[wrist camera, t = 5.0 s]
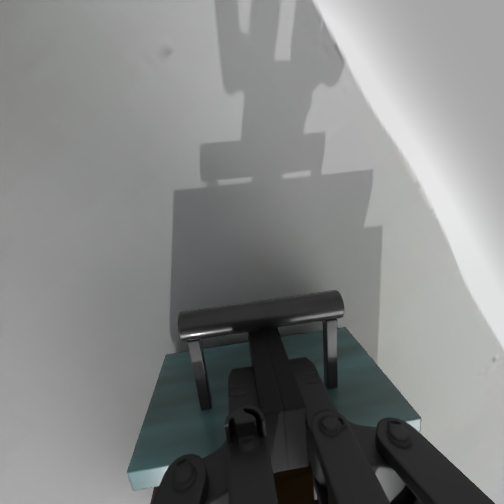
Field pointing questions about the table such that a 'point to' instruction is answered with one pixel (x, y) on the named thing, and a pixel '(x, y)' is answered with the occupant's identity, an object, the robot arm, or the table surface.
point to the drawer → (238, 355)
